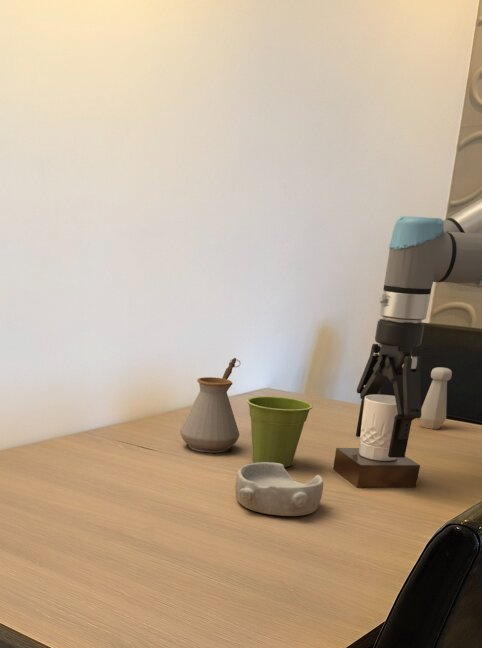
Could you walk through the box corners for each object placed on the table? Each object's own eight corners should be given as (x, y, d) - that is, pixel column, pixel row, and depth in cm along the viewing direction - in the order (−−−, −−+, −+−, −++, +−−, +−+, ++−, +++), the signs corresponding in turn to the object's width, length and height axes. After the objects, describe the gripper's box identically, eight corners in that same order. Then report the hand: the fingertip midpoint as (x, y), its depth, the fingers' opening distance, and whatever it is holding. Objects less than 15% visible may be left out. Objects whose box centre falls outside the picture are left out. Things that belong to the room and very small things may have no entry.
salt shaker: (412, 425, 187) (423, 366, 181) (425, 422, 191) (437, 364, 185) (435, 431, 183) (447, 371, 178) (448, 428, 187) (461, 369, 181)
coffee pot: (229, 458, 154) (237, 377, 147) (171, 450, 157) (176, 369, 151) (255, 434, 172) (263, 360, 166) (202, 426, 175) (208, 354, 169)
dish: (250, 485, 140) (254, 456, 138) (330, 501, 134) (335, 471, 132) (217, 508, 128) (220, 477, 126) (303, 527, 122) (307, 495, 120)
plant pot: (318, 468, 151) (327, 407, 146) (267, 476, 145) (275, 412, 140) (276, 452, 160) (283, 393, 155) (227, 458, 154) (233, 397, 149)
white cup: (394, 465, 141) (405, 406, 137) (349, 456, 145) (359, 399, 140) (405, 455, 147) (416, 399, 143) (362, 447, 151) (371, 392, 146)
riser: (388, 468, 154) (392, 447, 152) (416, 487, 144) (420, 465, 142) (332, 469, 152) (336, 447, 150) (356, 487, 142) (360, 465, 140)
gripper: (350, 309, 146) (332, 428, 155) (415, 329, 124) (390, 466, 134) (389, 311, 148) (369, 428, 157) (461, 331, 126) (432, 466, 135)
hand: (379, 446), depth 145 cm, fingers open, 13 cm apart
